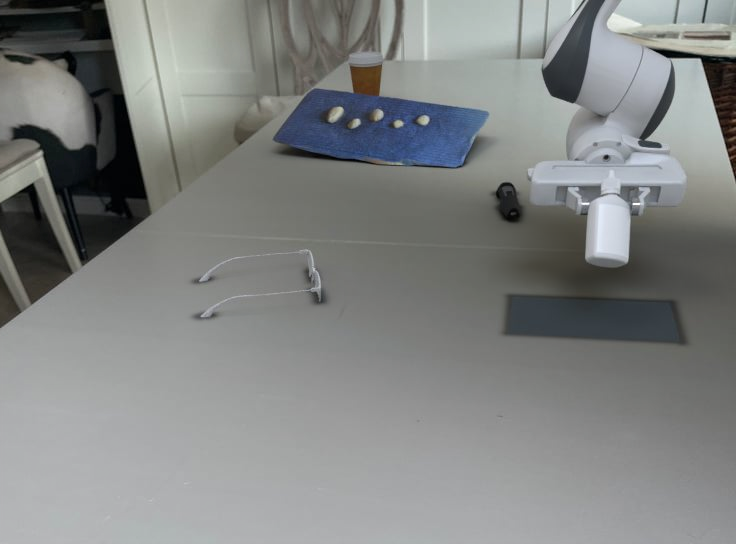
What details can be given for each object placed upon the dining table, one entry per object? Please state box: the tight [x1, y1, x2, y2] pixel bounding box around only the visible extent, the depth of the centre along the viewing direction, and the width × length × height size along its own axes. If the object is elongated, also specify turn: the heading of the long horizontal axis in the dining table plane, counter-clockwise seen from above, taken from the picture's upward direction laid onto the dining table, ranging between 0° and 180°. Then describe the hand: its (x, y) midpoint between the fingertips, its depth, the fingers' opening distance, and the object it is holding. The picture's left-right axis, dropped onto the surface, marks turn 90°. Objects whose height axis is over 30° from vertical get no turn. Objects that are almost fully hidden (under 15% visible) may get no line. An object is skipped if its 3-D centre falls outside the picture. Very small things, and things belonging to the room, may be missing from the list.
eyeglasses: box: [198, 249, 322, 318], centre depth 122 cm, size 15×18×4 cm
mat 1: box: [272, 87, 490, 168], centre depth 185 cm, size 45×27×12 cm, turn 69°
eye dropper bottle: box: [584, 170, 632, 269], centre depth 105 cm, size 4×6×12 cm
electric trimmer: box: [495, 181, 521, 219], centre depth 148 cm, size 4×16×3 cm, turn 176°
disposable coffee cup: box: [347, 51, 385, 96], centre depth 214 cm, size 10×10×12 cm
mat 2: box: [508, 296, 681, 343], centre depth 111 cm, size 22×12×1 cm, turn 79°
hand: (610, 210), depth 104 cm, fingers closed on eye dropper bottle, 5 cm apart
